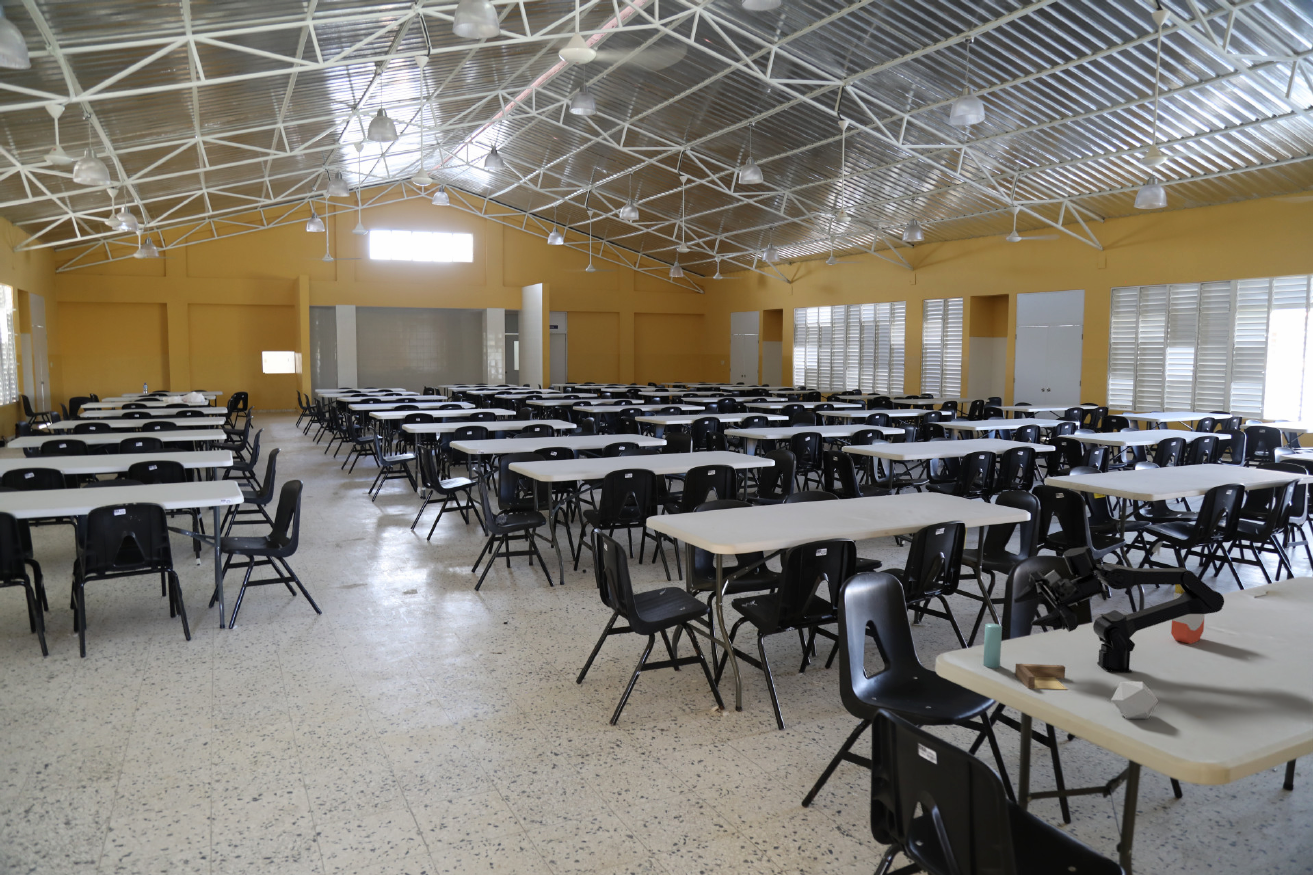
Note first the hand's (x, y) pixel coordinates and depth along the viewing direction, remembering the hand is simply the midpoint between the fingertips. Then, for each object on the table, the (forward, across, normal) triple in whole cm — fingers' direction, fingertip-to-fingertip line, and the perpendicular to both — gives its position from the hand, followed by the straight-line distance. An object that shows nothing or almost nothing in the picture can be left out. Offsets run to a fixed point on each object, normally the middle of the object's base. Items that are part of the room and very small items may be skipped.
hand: (1022, 612), depth 229 cm
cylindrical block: (+13, +5, +9) cm, 17 cm away
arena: (+5, +17, +7) cm, 19 cm away
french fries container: (-47, -7, +45) cm, 66 cm away
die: (-7, +37, +4) cm, 38 cm away
